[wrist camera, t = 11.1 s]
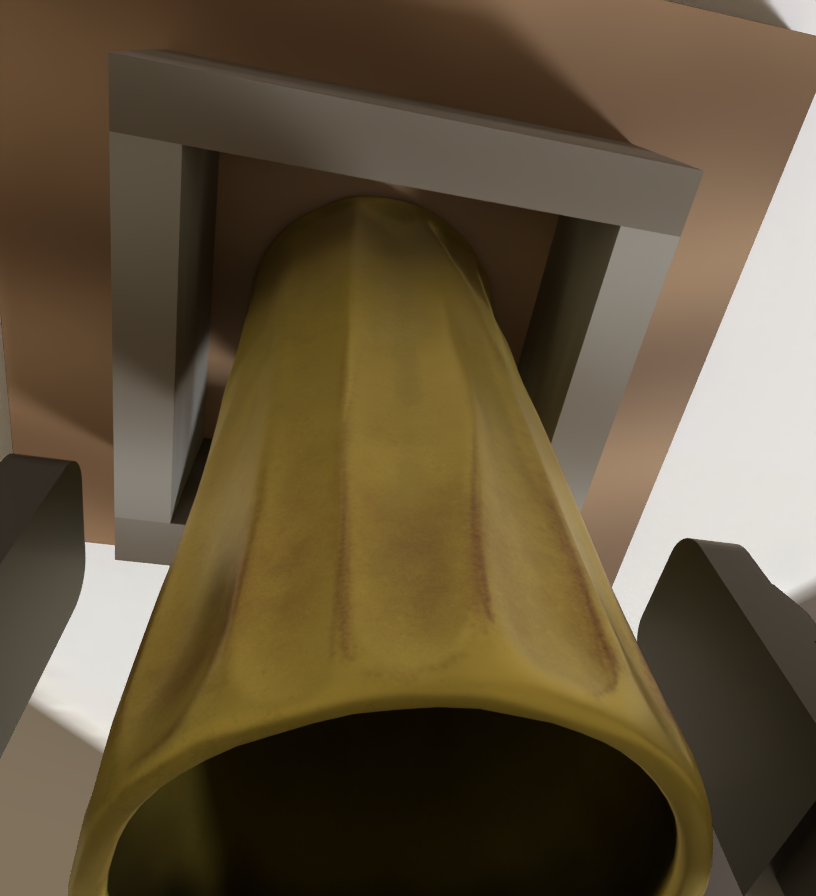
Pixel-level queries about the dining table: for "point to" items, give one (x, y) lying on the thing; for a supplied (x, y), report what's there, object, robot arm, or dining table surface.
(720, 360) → the dining table surface
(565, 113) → the dock
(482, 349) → the vase
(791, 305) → the dining table surface
